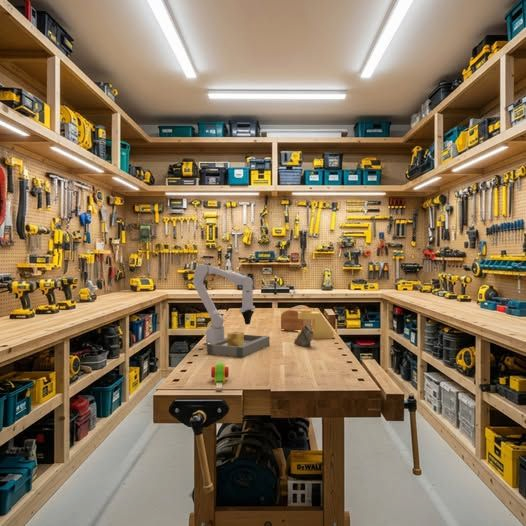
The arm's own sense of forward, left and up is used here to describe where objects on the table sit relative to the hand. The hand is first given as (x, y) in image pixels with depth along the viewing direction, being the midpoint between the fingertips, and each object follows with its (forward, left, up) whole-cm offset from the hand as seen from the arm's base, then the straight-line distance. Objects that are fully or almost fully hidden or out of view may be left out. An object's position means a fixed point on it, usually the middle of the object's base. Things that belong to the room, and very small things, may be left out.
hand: (247, 324), depth 215 cm
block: (+3, -19, -7) cm, 21 cm away
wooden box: (+6, +62, -11) cm, 63 cm away
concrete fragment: (+29, +8, -11) cm, 32 cm away
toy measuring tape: (+23, -68, -11) cm, 72 cm away
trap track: (+3, -15, -10) cm, 18 cm away
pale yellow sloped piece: (+27, +34, -11) cm, 45 cm away
